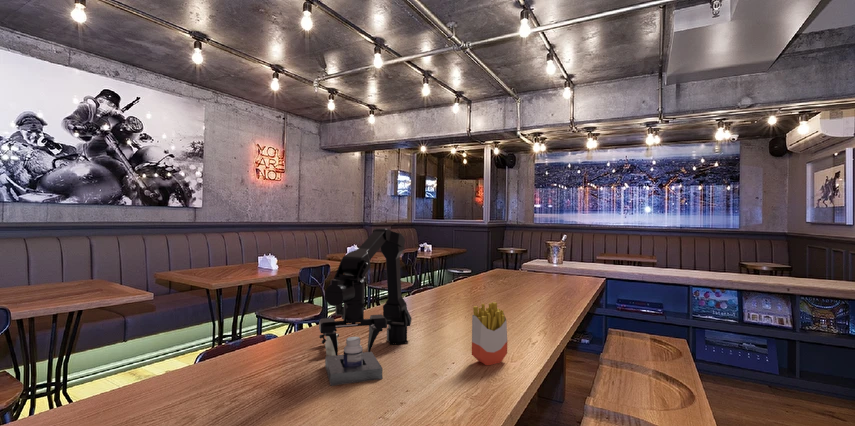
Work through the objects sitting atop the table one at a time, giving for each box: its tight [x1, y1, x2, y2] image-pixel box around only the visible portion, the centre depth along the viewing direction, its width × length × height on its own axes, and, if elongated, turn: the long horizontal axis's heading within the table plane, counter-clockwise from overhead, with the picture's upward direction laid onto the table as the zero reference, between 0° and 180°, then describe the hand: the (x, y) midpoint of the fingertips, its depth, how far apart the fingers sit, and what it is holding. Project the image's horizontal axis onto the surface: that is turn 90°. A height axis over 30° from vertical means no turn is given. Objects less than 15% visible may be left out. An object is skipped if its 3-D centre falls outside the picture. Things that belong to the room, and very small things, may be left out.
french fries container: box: [471, 301, 508, 366], centre depth 121 cm, size 5×11×18 cm, turn 119°
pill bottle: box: [343, 336, 364, 368], centre depth 111 cm, size 5×5×10 cm
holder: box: [324, 351, 383, 387], centre depth 111 cm, size 14×14×3 cm
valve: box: [318, 328, 340, 356], centre depth 129 cm, size 7×7×12 cm
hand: (352, 353), depth 111 cm, fingers open, 9 cm apart
